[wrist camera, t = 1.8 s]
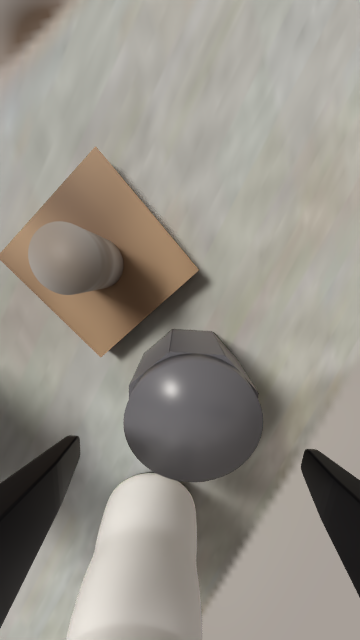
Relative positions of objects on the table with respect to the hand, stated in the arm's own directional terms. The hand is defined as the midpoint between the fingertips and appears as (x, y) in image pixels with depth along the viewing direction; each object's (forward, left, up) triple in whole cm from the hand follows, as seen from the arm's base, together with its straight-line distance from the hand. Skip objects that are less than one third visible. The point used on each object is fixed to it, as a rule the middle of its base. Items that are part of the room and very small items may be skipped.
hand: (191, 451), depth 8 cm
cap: (0, 0, -6) cm, 6 cm away
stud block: (+1, +9, -6) cm, 11 cm away
